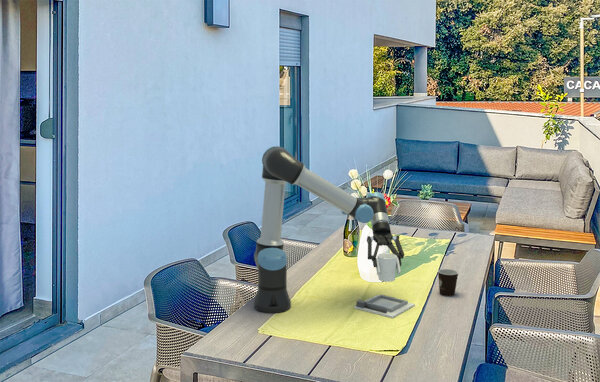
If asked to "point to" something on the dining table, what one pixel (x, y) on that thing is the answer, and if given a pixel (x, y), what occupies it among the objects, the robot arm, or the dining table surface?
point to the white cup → (387, 267)
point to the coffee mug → (447, 281)
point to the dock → (384, 305)
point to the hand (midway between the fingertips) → (389, 273)
